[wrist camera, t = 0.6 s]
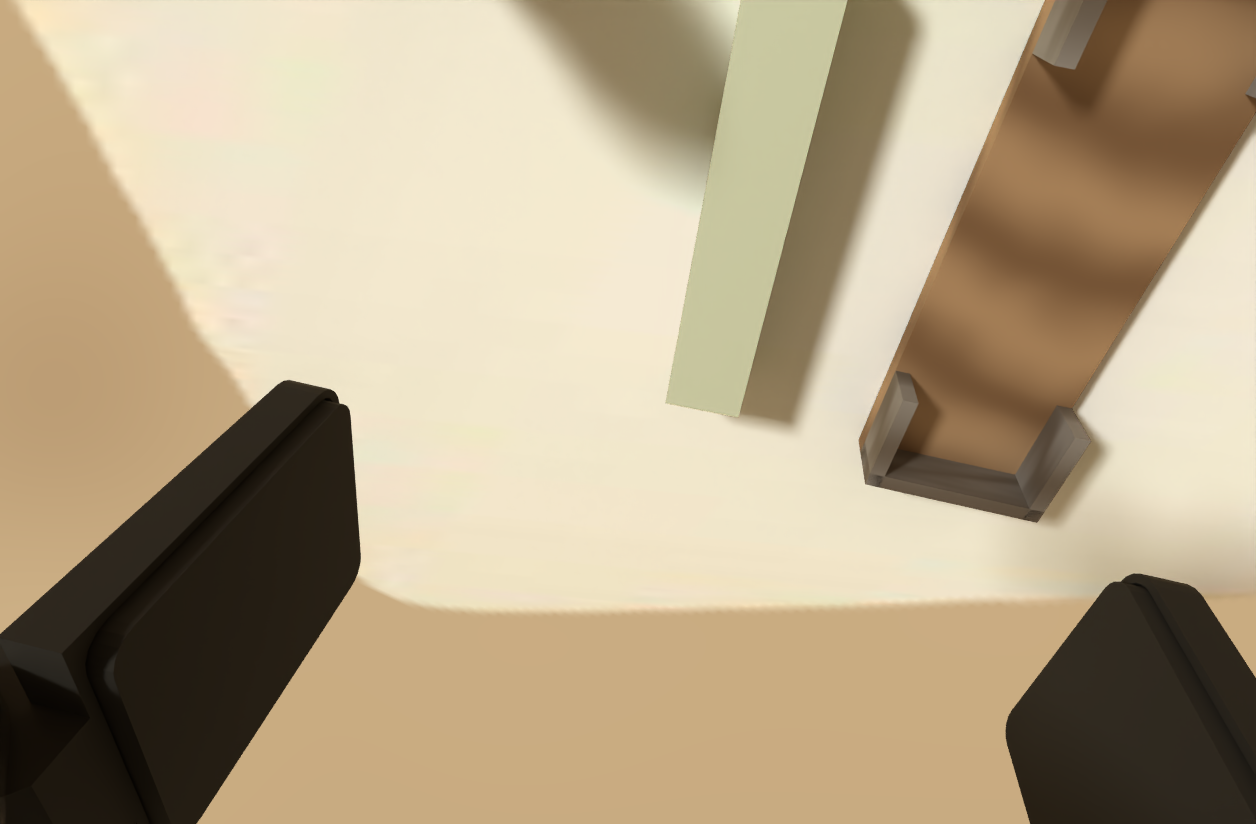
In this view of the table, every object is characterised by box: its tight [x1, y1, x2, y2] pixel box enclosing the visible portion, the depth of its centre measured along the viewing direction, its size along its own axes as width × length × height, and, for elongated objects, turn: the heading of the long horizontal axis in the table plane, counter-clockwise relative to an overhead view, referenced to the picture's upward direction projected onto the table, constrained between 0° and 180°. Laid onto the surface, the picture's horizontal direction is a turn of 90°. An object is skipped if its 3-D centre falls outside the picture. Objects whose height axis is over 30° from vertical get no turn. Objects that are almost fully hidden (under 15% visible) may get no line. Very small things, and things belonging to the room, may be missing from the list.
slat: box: [666, 0, 847, 418], centre depth 35 cm, size 22×4×5 cm, turn 173°
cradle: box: [859, 0, 1256, 523], centre depth 34 cm, size 28×10×4 cm, turn 171°
